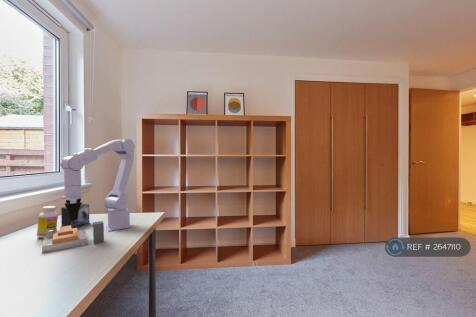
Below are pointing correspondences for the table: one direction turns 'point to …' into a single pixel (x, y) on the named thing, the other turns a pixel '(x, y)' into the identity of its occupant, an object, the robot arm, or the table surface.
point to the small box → (81, 220)
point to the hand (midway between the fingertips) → (74, 217)
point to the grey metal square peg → (98, 232)
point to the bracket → (65, 234)
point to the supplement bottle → (47, 220)
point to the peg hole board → (48, 245)
